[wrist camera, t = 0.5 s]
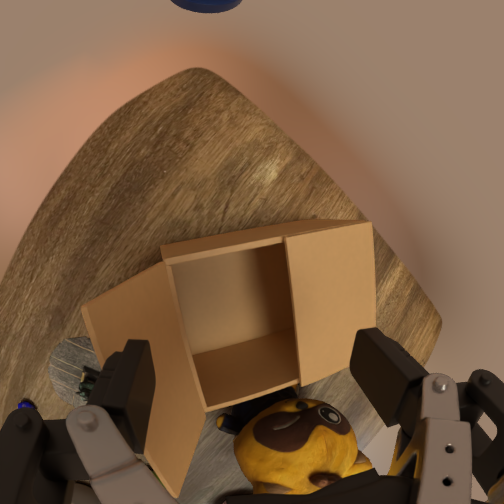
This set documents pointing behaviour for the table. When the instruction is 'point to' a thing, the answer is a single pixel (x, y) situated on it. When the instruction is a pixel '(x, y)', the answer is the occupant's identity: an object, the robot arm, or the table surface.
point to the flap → (165, 364)
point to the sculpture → (74, 370)
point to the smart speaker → (84, 495)
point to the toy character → (292, 443)
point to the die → (25, 405)
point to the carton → (271, 304)
